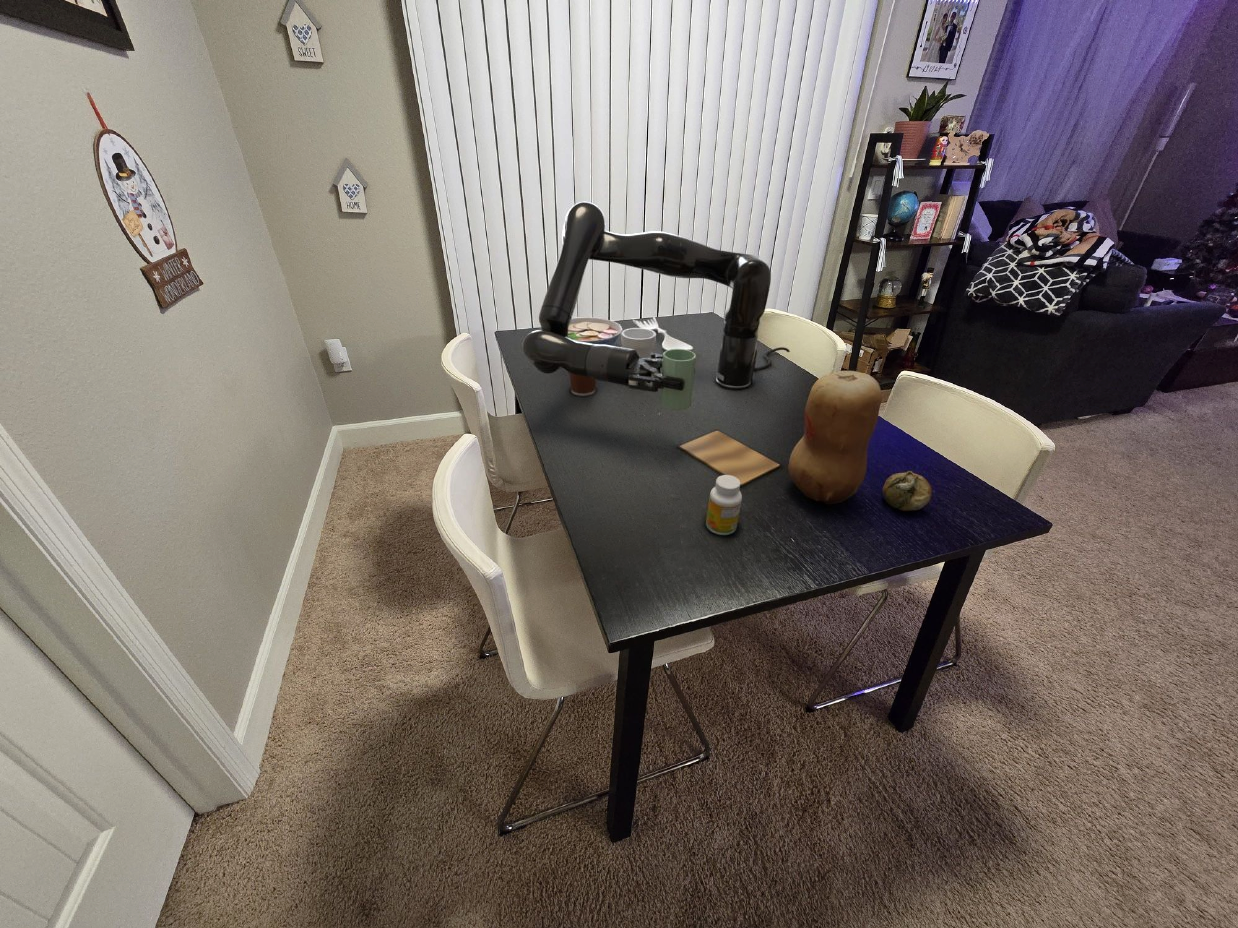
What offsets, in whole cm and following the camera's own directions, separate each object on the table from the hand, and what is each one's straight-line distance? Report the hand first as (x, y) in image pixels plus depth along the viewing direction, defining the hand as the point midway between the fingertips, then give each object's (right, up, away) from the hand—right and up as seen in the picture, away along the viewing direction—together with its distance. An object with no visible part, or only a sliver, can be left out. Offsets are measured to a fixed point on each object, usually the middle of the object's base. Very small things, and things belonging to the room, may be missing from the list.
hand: (689, 378), depth 99 cm
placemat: (+10, -15, +9) cm, 20 cm away
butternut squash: (+25, -23, -2) cm, 34 cm away
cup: (-2, -4, +4) cm, 6 cm away
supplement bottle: (+4, -28, -10) cm, 30 cm away
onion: (+39, -25, -4) cm, 47 cm away
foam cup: (-9, +7, +43) cm, 45 cm away
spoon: (+1, +24, +69) cm, 73 cm away
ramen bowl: (-24, +19, +61) cm, 68 cm away
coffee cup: (-24, +3, +36) cm, 43 cm away
